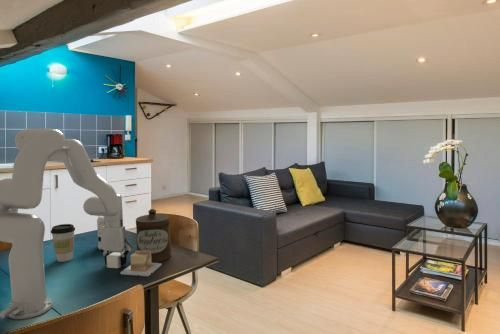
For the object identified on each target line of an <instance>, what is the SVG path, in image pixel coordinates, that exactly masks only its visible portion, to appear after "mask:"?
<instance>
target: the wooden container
mask: <svg viewBox="0 0 500 334" xmlns="http://www.w3.org/2000/svg"><path fill="white" fill-rule="evenodd" d="M147 212H148V214H145V215H140V216H138V217H137V218H135V226H136V251H138V250H139V251H151V262H152V263H159V262H163V261H165V260H168V259H169V258H171V256H172V243H171V241H172V240H171V228H170V216H169V215H168V214H164V213H163V214H162V213H157V210H156V209H154V208H150V209H149V210H148V211H147Z"/></svg>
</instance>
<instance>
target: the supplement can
mask: <svg viewBox="0 0 500 334" xmlns="http://www.w3.org/2000/svg"><path fill="white" fill-rule="evenodd" d="M102 220H104V216H97V219H96V225H97V241H98V242H97V243H98V244H97V246H98V245H99V244H100V243H101V232H102V227H103V226H104V223H102Z"/></svg>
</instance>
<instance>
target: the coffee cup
mask: <svg viewBox="0 0 500 334" xmlns="http://www.w3.org/2000/svg"><path fill="white" fill-rule="evenodd" d="M75 231H76V227H75V226H74V224H73V223H71V224H70V223H62V224H57V225H53V226H52V227H51V229H50V233H51V236H52V237H51V238H52V243H53V248H54V252H55V255H56V261H57V262H68V261H71V260H73V259H74V258H73V256H74V246H75Z"/></svg>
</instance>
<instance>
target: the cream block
mask: <svg viewBox="0 0 500 334" xmlns="http://www.w3.org/2000/svg"><path fill="white" fill-rule="evenodd" d="M121 257H122V256H121V254H120V252H119V251H112V252H111V253H110V254H109V255H108V256H107V265H106V268H107V269H108V268H110V269H119V268H121V267H122V266H121V259H120V258H121Z"/></svg>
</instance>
